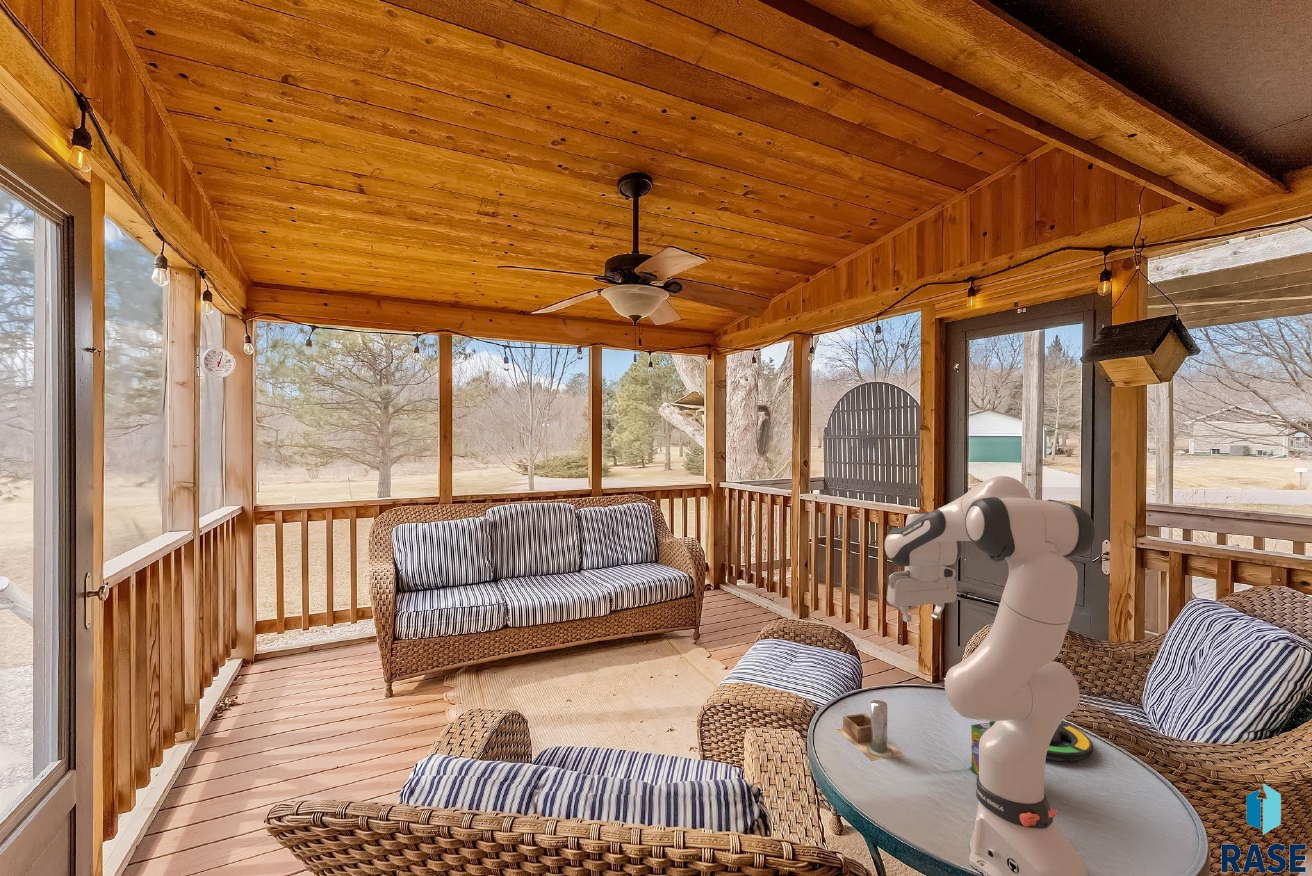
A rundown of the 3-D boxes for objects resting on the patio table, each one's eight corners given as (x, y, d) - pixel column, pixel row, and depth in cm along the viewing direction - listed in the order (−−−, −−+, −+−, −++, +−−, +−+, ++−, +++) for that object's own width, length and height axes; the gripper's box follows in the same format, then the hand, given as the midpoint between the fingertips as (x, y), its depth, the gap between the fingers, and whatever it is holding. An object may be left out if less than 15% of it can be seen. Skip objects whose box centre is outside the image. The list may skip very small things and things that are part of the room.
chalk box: (999, 792, 133) (999, 729, 133) (969, 770, 142) (969, 711, 142) (1031, 787, 135) (1031, 725, 135) (1000, 765, 144) (1000, 707, 144)
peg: (890, 751, 148) (890, 706, 148) (877, 754, 147) (877, 707, 147) (880, 743, 152) (880, 699, 152) (867, 745, 151) (867, 700, 151)
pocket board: (904, 758, 147) (904, 739, 147) (871, 764, 144) (871, 744, 144) (867, 728, 162) (867, 710, 162) (836, 732, 160) (836, 715, 160)
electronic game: (1113, 755, 149) (1113, 737, 149) (1055, 774, 140) (1056, 755, 140) (1028, 716, 170) (1028, 700, 170) (973, 730, 162) (973, 713, 162)
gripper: (896, 574, 151) (896, 626, 151) (960, 570, 156) (960, 620, 156) (881, 569, 157) (881, 619, 157) (943, 565, 162) (943, 613, 162)
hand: (921, 619), depth 156 cm, fingers open, 8 cm apart
